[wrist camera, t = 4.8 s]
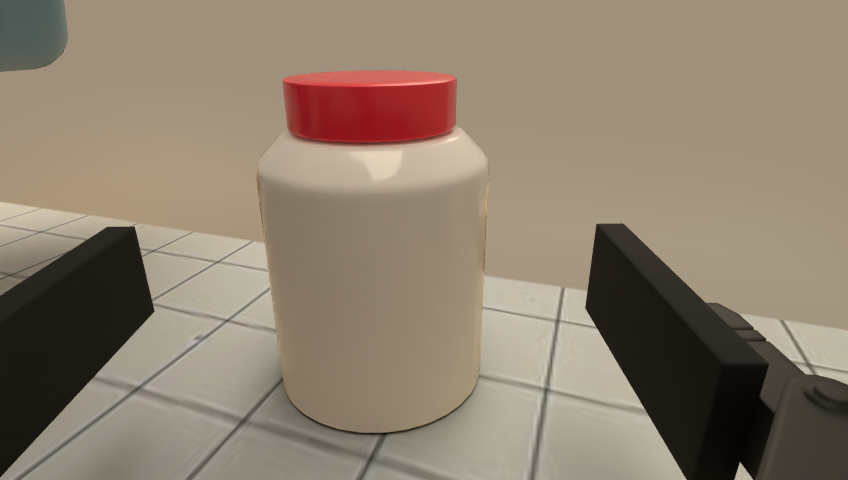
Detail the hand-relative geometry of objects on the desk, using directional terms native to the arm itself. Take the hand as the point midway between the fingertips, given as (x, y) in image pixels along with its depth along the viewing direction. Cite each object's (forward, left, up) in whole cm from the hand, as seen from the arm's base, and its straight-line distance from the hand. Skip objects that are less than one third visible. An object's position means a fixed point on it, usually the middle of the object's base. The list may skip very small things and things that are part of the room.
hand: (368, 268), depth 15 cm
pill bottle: (-3, +2, -6) cm, 7 cm away
